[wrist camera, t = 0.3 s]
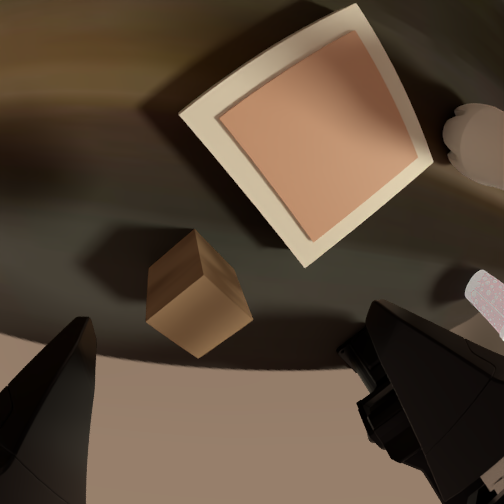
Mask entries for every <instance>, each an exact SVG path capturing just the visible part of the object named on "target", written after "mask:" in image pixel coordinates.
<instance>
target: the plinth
mask: <svg viewBox="0 0 504 504" xmlns="http://www.w3.org/2000/svg"><path fill="white" fill-rule="evenodd" d="M178 114H179V116H180V117H181V118H182V119H183V120H184V121H185V123H186V124H187V125H188V126H189V127H190V128H191V130H192V131H193V132H194V133H195V134H196V136H197V137H198V138H199V139H200V140H201V141H202V143H203V144H204V145H205V146H206V147H207V148H208V150H209V151H210V152H211V153H212V154H213V156H214V157H215V158H216V159H217V160H218V162H219V163H220V164H221V165H222V166H223V168H224V169H225V170H226V171H227V172H228V174H229V175H230V176H231V177H232V178H233V180H234V181H235V182H236V183H237V184H238V186H239V187H240V188H241V189H242V191H243V192H244V193H245V194H246V195H247V197H248V198H249V199H250V200H251V202H252V203H253V204H254V205H255V206H256V208H257V209H258V210H259V211H260V213H261V214H262V215H263V216H264V218H265V219H266V220H267V221H268V223H269V224H270V225H271V226H272V227H273V229H274V230H275V231H276V232H277V234H278V235H279V236H280V237H281V239H282V240H283V241H284V243H285V244H286V245H287V246H288V248H289V249H290V250H291V251H292V253H293V254H294V255H295V256H296V258H297V259H298V260H299V261H300V263H301V264H302V265H303V267H304V268H306V267H307V266H308V265H309V264H311V263H312V262H313V261H315V260H316V259H317V258H318V257H320V256H321V255H322V254H323V253H325V252H326V251H327V250H329V249H330V248H331V247H332V246H334V245H335V244H336V243H337V242H339V241H340V240H341V239H342V238H344V237H345V236H346V235H347V234H349V233H350V232H351V231H352V230H353V229H355V228H356V227H357V226H358V225H360V224H361V223H362V222H363V221H365V220H366V219H367V218H368V217H369V216H371V215H372V214H373V213H374V212H375V211H377V210H378V209H379V208H380V207H381V206H383V205H384V204H385V203H386V202H387V201H389V200H390V199H391V198H392V197H393V196H395V195H396V194H397V193H398V192H399V191H401V190H402V189H403V188H404V187H405V186H406V185H408V184H409V183H410V182H411V181H412V180H413V179H415V178H416V177H417V176H418V175H419V174H420V173H422V172H423V171H424V170H425V169H426V168H427V167H428V166H430V165H431V164H432V163H433V159H432V156H431V153H430V150H429V148H428V145H427V142H426V139H425V137H424V134H423V132H422V129H421V126H420V124H419V122H418V119H417V117H416V114H415V112H414V110H413V107H412V105H411V103H410V100H409V98H408V96H407V94H406V92H405V89H404V87H403V85H402V83H401V81H400V79H399V77H398V75H397V73H396V71H395V69H394V67H393V65H392V63H391V61H390V59H389V57H388V55H387V54H386V52H385V50H384V48H383V46H382V45H381V43H380V41H379V39H378V38H377V36H376V34H375V32H374V31H373V29H372V27H371V26H370V24H369V23H368V21H367V19H366V18H365V16H364V15H363V13H362V11H361V10H360V8H359V7H358V5H357V4H356V3H355V4H352V5H350V6H347V7H344V8H342V9H339V10H336V11H334V12H332V13H330V14H328V15H326V16H324V17H322V18H320V19H318V20H316V21H315V22H313V23H311V24H309V25H307V26H305V27H303V28H302V29H300V30H298V31H296V32H295V33H293V34H291V35H289V36H288V37H286V38H284V39H282V40H281V41H279V42H277V43H276V44H274V45H273V46H271V47H269V48H268V49H266V50H264V51H263V52H261V53H260V54H258V55H257V56H255V57H254V58H252V59H250V60H249V61H247V62H246V63H244V64H243V65H241V66H240V67H239V68H237V69H236V70H234V71H233V72H231V73H230V74H228V75H227V76H226V77H224V78H223V79H221V80H220V81H219V82H217V83H216V84H215V85H213V86H212V87H210V88H209V89H208V90H206V91H205V92H204V93H203V94H201V95H200V96H199V97H197V98H196V99H195V100H193V101H192V102H191V103H190V104H188V105H187V106H186V107H185V108H183V109H182V110H181V111H180V112H178Z"/></svg>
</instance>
